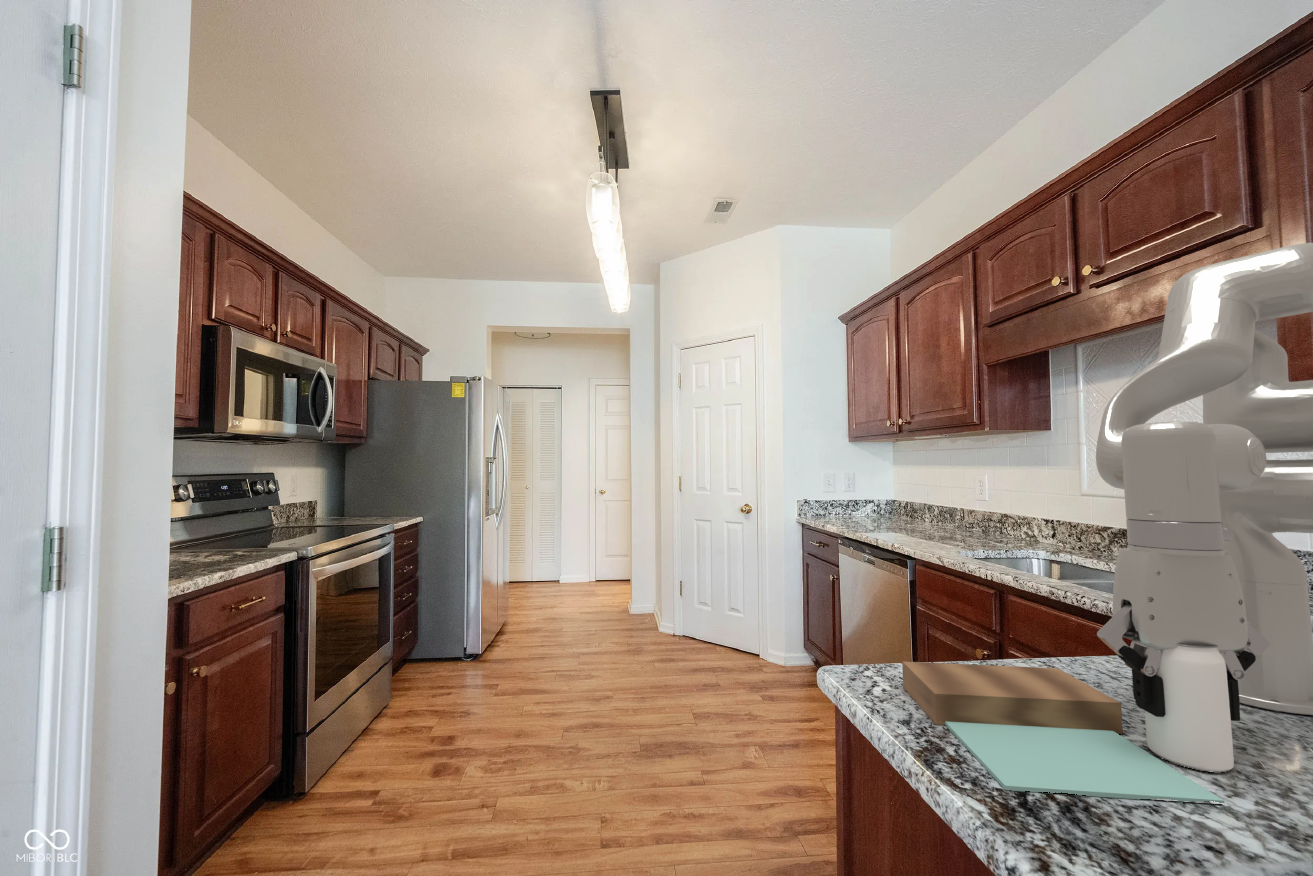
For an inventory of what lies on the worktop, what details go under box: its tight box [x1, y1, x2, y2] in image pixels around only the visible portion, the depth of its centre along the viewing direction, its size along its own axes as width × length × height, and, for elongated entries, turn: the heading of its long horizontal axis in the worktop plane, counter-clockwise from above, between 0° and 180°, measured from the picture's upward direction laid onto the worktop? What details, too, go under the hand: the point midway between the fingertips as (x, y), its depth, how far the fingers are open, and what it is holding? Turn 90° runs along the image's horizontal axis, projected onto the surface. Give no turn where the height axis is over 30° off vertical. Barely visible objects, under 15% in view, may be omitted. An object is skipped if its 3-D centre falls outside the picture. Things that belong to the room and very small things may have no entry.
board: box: [901, 661, 1124, 735], centre depth 69 cm, size 20×12×4 cm, turn 83°
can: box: [1143, 644, 1235, 774], centre depth 57 cm, size 6×6×12 cm
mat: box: [944, 721, 1226, 805], centre depth 56 cm, size 18×14×1 cm
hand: (1186, 712), depth 57 cm, fingers closed on can, 6 cm apart
